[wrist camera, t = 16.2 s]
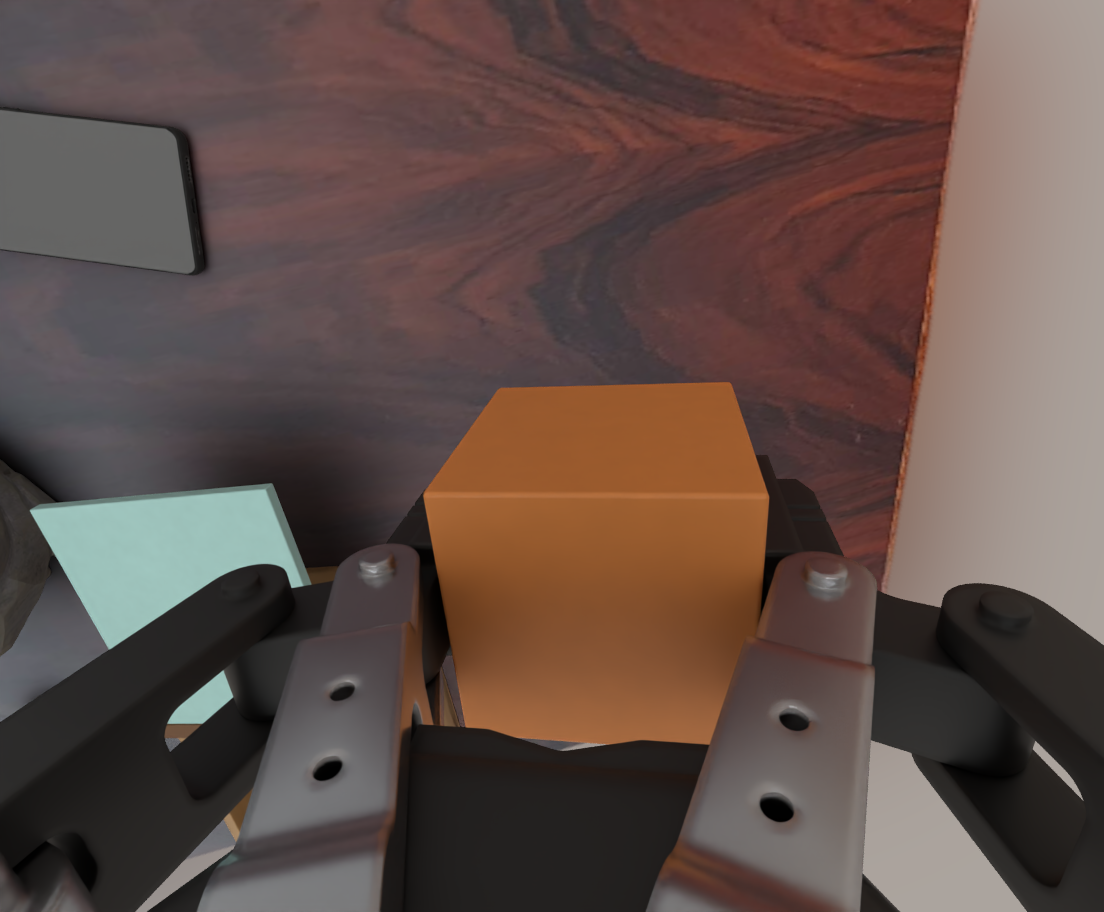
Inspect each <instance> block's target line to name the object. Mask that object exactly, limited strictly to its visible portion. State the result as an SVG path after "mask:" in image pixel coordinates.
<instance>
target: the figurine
mask: <svg viewBox="0 0 1104 912" xmlns="http://www.w3.org/2000/svg"><path fill="white" fill-rule="evenodd" d="M49 503H56V502H55V501H54V500H53V499H52V498H50V497H49V496H48V495H47V494H45V493H44V492H43V491H41V490H40V489H39V488H38V487H36V486H35V485H34V484H33V483H31V482H30V481H29V480H28V479H27V478H25V477H24V476H23V475H22V474H19V473H16V472H14V471H13V470H12V469H11V468H9V467H8V466H7V465H6V464H5V463H4V462H3V461H2V460H0V656H1V655H3V654H4V653H5V652H7V651H8V650H9V649H10V648H12V646H13V644H14V642H15V641H16V639H17V637H18V635H19V633H20V631H21V630H22V628H23V627H24V625H25V622H26V620H27V618H28V616H29V614H30V613H31V611H32V609H33V608H34V606H35V604H36V603H37V601H38V600H39V598H40V595H41V593H42V591H43V588H44V585H45V581H46V579H47V578H48V577H49V576H50V574H51V570H50V568H49V567H48V564H49V559H50V557H51V556H55V554H54V552H53V551H52V549H51V547H50V545H49V544H48V542H47V540H46V538H45V537H44V535H43V533H42V531H41V530H40V528H39V526H38V524H37V523H36V521H35V519H34V517H33V516H32V514H31V512H30V510H31V509H32V508H34V507H36V506H38V505H40V504H49Z"/></svg>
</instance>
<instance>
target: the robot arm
mask: <svg viewBox="0 0 1104 912" xmlns="http://www.w3.org/2000/svg"><path fill="white" fill-rule="evenodd" d="M755 456H756V459H757V462H758V465H759V468H760V471H761V474H762V477H763V480H764V483H765V486H766V489H767V492H768V495H769V509H768V522H767V535H766V549H765V562H764V575H763V588H762V602H761V615H760V621H759V624H758V627H757V631H756V634H755V636H751V635H747V636H746V638H745V640H744V642H743V645H742V648H741V651H740V654H739V657H738V660H737V663H736V666H735V669H734V672H733V675H732V678H731V681H730V684H729V687H728V690H727V693H726V696H725V699H724V702H723V705H722V708H721V711H720V714H719V718H718V721H717V724H716V727H715V730H714V733H713V736H712V739H711V742H710V745H708V744H694V743H680V742H666V741H652V740H636V741H630V742H623V743H616V744H609V745H603V746H596V747H589V748H582V749H576V750H569V751H558V750H554V749H550V748H547V747H544V746H541V745H537V744H534V743H531V742H528V741H525V740H522V739H518V738H515V737H512V736H509V735H506V734H503V733H500V732H496V731H493V730H490V729H482V728H468V727H454V726H444V682H443V676H442V671H441V666H442V664H443V662H444V659H445V657H446V655H452V650H451V645H450V639H449V634H448V628H447V623H446V617H445V612H444V606H443V601H442V596H441V590H440V585H439V579H438V574H437V568H436V563H435V557H434V552H433V546H432V541H431V536H430V530H429V525H428V519H427V514H426V508H425V503H424V497H423V495H424V492H425V490H426V489H425V490H424V492H423V493H422V494H421V496H420V497H419V498H418V500H417V501H416V503H415V506H413V507H412V508H411V510H410V511H409V512H408V516H407V517H405V518H404V519H403V521H402V522H401V523H400V525H399V526H398V528H397V529H396V530H395V532H394V533H393V535H392V536H391V537H390V539H389V540H388V542H387V543H386V544H381V545H376V546H372V547H368V548H366V549H363V550H360V551H358V552H356V553H354V554H353V555H351V556H349V557H348V558H347V559H345V560H344V561H343V562H342V563H341V564H340V566H339V567H338V568H337V571H336V574H335V578H334V580H333V581H329V582H323V583H318V584H312V585H306V586H300V587H295V588H291V585H290V581H289V578H288V575H287V572H286V571H285V569H284V568H282V567H280V566H277V565H273V564H256V565H250V566H246V567H242V568H239V569H236V570H233V571H231V572H228V573H226V574H224V575H222V576H220V577H218V578H217V579H215V580H213V581H212V582H210V583H209V584H207V585H206V586H204V587H203V588H201V589H200V590H198V591H197V592H195V593H194V594H192V595H191V596H189V597H188V598H186V599H185V600H183V601H182V602H180V603H179V604H177V605H176V606H174V607H173V608H171V609H170V610H168V611H167V612H165V613H164V614H162V615H161V616H159V617H158V618H156V619H155V620H153V621H152V622H150V623H149V624H147V625H146V626H144V627H143V628H141V629H140V630H138V631H137V632H135V633H134V634H132V635H131V636H129V637H128V638H126V639H125V640H123V641H122V642H120V643H119V644H117V645H116V646H114V647H113V648H111V649H110V650H108V651H107V652H105V653H104V654H102V655H101V656H99V657H98V658H96V659H95V660H93V661H92V662H90V663H89V664H87V665H86V666H84V667H83V668H81V669H80V670H78V671H76V672H75V673H73V674H72V675H70V676H69V677H67V678H66V679H64V680H63V681H61V682H60V683H58V684H57V685H55V686H54V687H52V688H51V689H49V690H48V691H46V692H45V693H43V694H42V695H40V696H39V697H37V698H36V699H34V700H33V701H31V702H30V703H28V704H27V705H25V706H24V707H22V708H21V709H19V710H18V711H16V712H15V713H13V714H12V715H10V716H9V717H7V718H6V719H4V720H3V721H1V722H0V912H135V911H136V910H137V909H138V908H139V907H140V906H141V905H142V904H143V903H144V902H145V901H146V900H147V898H149V897H150V896H151V894H152V893H153V892H154V891H155V890H156V889H157V888H158V887H159V886H160V885H161V884H162V883H163V882H164V881H165V880H166V879H167V878H168V877H169V876H170V875H171V873H173V871H174V870H175V869H176V868H177V867H178V866H179V865H180V864H181V863H182V862H183V861H184V860H185V859H186V858H187V857H188V856H189V855H190V854H191V853H192V852H193V850H194V849H195V848H196V847H197V846H198V845H199V844H200V843H201V842H202V841H203V840H204V839H205V838H206V837H207V836H208V835H209V834H210V833H211V832H212V831H213V830H214V828H215V827H216V826H217V825H218V824H219V823H220V822H221V821H222V820H223V819H224V818H225V817H226V816H227V815H228V814H229V813H230V812H231V811H232V810H233V809H234V807H235V806H236V805H237V804H238V803H239V802H240V801H241V800H242V799H243V798H244V797H245V796H246V795H247V794H248V793H249V792H250V791H251V790H252V789H253V790H252V793H251V796H250V800H249V803H248V806H247V810H246V813H245V816H244V819H243V823H242V826H241V829H240V832H239V836H238V839H237V842H236V845H235V847H234V849H233V850H232V851H230V852H229V853H228V854H227V855H225V856H223V857H222V858H221V859H219V860H218V861H217V862H215V863H214V864H212V865H211V866H210V867H208V868H207V869H205V870H204V871H203V872H201V873H200V874H198V875H197V876H196V877H194V878H193V879H191V880H190V881H189V882H187V883H186V884H185V885H183V886H182V887H180V888H179V889H178V890H176V891H175V892H173V893H172V894H171V895H169V896H168V897H167V898H165V899H164V900H163V901H161V902H160V903H158V904H157V905H156V906H154V907H153V908H151V909H150V910H149V911H147V912H900V911H899V910H898V909H897V908H896V907H895V906H894V905H893V904H892V903H891V902H890V901H889V900H888V899H887V898H886V897H885V896H884V895H883V894H882V893H881V892H880V891H879V890H878V889H877V888H876V887H875V886H874V885H873V884H872V883H871V882H870V881H869V880H868V878H866V876H864V874H863V873H862V871H863V855H864V839H865V824H866V807H867V792H868V776H869V761H870V745H871V744H870V743H871V740H872V741H875V742H879V743H882V744H885V745H888V746H891V747H894V748H898V749H901V750H904V751H907V752H910V753H912V757H913V759H914V761H915V763H916V765H917V766H918V768H919V769H920V771H921V772H922V773H923V775H924V776H925V777H926V779H927V780H928V781H929V782H930V784H931V785H932V787H933V788H934V789H935V790H936V792H937V793H938V794H939V796H940V797H941V798H942V800H943V801H944V802H945V804H946V805H947V806H948V807H949V809H950V810H951V812H952V813H953V814H954V816H955V817H956V818H957V820H958V821H959V822H960V824H961V825H962V826H963V827H964V829H965V830H966V831H967V832H968V834H969V835H970V837H971V838H972V839H973V841H974V842H975V843H976V845H977V846H978V847H979V849H980V850H981V851H982V853H983V854H984V855H985V856H986V858H987V859H988V860H989V862H990V863H991V864H992V866H993V867H994V868H995V870H996V871H997V872H998V874H999V875H1000V876H1001V878H1002V879H1003V880H1004V881H1005V883H1006V884H1007V885H1008V887H1009V888H1010V889H1011V891H1012V892H1013V893H1014V895H1015V896H1016V897H1017V899H1018V900H1019V901H1020V903H1021V904H1022V905H1023V907H1024V908H1025V909H1026V911H1027V912H1104V645H1102V644H1101V643H1100V642H1098V641H1097V640H1096V639H1094V638H1093V637H1092V636H1090V635H1089V634H1087V633H1086V632H1085V631H1083V630H1082V629H1080V628H1079V627H1078V626H1077V625H1075V624H1074V623H1073V622H1071V621H1070V620H1068V619H1067V618H1066V617H1064V616H1063V615H1061V614H1060V613H1059V612H1058V611H1056V610H1055V609H1054V608H1052V607H1051V606H1049V605H1048V604H1046V603H1044V602H1043V601H1041V600H1039V599H1037V598H1035V597H1033V596H1031V595H1028V594H1026V593H1023V592H1021V591H1018V590H1015V589H1011V588H1007V587H1004V586H998V585H992V584H981V583H980V584H979V583H974V584H964V585H959V586H956V587H954V588H952V589H950V590H949V591H947V593H946V594H945V595H944V598H943V601H942V606H941V608H940V607H935V606H930V605H926V604H921V603H917V602H912V601H907V600H903V599H899V598H895V597H893V596H890V595H887V594H884V593H882V592H880V591H877V583H876V580H875V578H874V576H873V575H872V574H871V572H870V571H869V570H867V569H866V568H865V567H864V566H862V565H861V564H859V563H857V562H856V561H854V560H851V559H849V558H847V557H844V555H843V553H842V551H841V549H840V547H839V545H838V542H837V540H836V538H835V536H834V534H833V532H832V530H831V528H830V526H829V524H828V522H826V517H825V515H824V513H823V511H822V509H820V505H819V503H818V500H817V498H816V496H815V494H814V492H813V491H812V490H810V489H809V488H808V487H806V486H805V485H803V484H802V483H801V482H799V481H798V480H797V479H776V476H775V474H774V471H773V468H772V466H771V463H770V460H769V458H768V456H767V455H755ZM222 671H224V674H225V676H226V679H227V681H228V684H229V687H230V689H231V692H232V694H233V698H232V699H230V700H229V701H228V702H227V703H226V704H225V705H224V706H222V707H221V708H220V709H219V710H218V711H217V712H216V713H214V714H213V715H212V716H211V717H210V718H209V719H207V720H206V721H205V722H204V723H203V724H202V725H201V726H199V727H198V728H197V729H196V730H195V731H194V732H193V733H191V734H190V735H189V736H188V737H187V738H186V739H185V740H183V741H182V742H181V743H180V744H179V745H178V746H176V747H175V748H174V749H173V750H172V751H171V752H170V751H169V749H168V747H167V745H166V742H165V729H166V726H167V723H168V721H169V719H170V717H171V716H172V714H173V713H174V712H175V710H176V709H177V708H178V707H179V706H180V705H181V704H183V703H184V702H185V701H186V700H187V699H189V698H190V697H191V696H192V695H194V694H195V693H196V692H197V691H199V690H200V689H201V688H202V687H203V686H205V685H206V684H207V683H208V682H210V681H211V680H212V679H213V678H214V677H216V676H217V675H218V674H219V673H221V672H222ZM1035 741H1036V742H1037V743H1039V744H1040V746H1042V747H1043V748H1044V749H1045V750H1046V751H1047V752H1048V753H1049V754H1050V755H1051V756H1052V757H1053V758H1054V759H1055V760H1056V761H1057V762H1058V763H1059V764H1060V765H1061V766H1062V767H1063V768H1064V769H1065V770H1066V772H1067V773H1068V774H1069V775H1070V776H1071V778H1072V779H1073V780H1074V782H1075V784H1076V785H1077V787H1078V789H1079V791H1080V792H1081V795H1082V798H1083V800H1084V801H1083V800H1082V799H1081V798H1080V797H1079V796H1078V795H1077V794H1076V793H1075V792H1074V791H1073V790H1072V789H1071V788H1070V787H1069V786H1068V785H1067V784H1066V783H1065V782H1064V781H1063V780H1062V779H1061V778H1060V777H1059V776H1058V775H1057V774H1056V773H1055V772H1054V771H1053V770H1052V769H1051V768H1050V767H1049V766H1048V765H1047V764H1046V763H1045V762H1044V761H1043V760H1042V759H1041V757H1040V756H1039V755H1037V753H1036V752H1035V751H1034V750H1033V746H1034V743H1035Z"/></svg>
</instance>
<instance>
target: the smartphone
mask: <svg viewBox="0 0 1104 912" xmlns="http://www.w3.org/2000/svg"><path fill="white" fill-rule="evenodd" d="M0 250H5V251H13V252H20V253H28V254H35V255H43V256H50V257H58V258H65V259H73V260H80V261H88V262H95V263H103V264H110V265H118V266H125V267H133V268H140V269H148V270H155V271H163V272H170V273H178V274H185V275H197V274H199V273H201V272H202V271H203V269H204V258H203V251H202V244H201V236H200V229H199V222H198V215H197V208H196V201H195V194H194V187H193V179H192V172H191V165H190V158H189V151H188V144H187V140H186V138H185V136H184V134H183V133H182V132H181V131H180V130H178V129H176V128H174V127H167V126H158V125H149V124H141V123H132V122H123V121H114V120H105V119H96V118H88V117H79V116H70V115H61V114H52V113H43V112H35V111H26V110H20V109H18V108H9V107H3V108H0Z"/></svg>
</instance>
